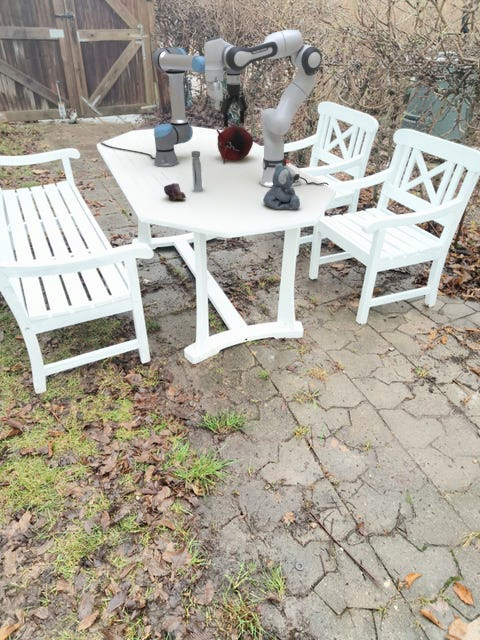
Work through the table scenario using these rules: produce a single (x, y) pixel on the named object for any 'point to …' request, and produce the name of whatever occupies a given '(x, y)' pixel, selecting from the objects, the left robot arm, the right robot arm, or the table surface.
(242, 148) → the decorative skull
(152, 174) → the table surface
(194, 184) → the bottle
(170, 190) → the rock
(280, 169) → the koala plush
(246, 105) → the left robot arm
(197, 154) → the cap
